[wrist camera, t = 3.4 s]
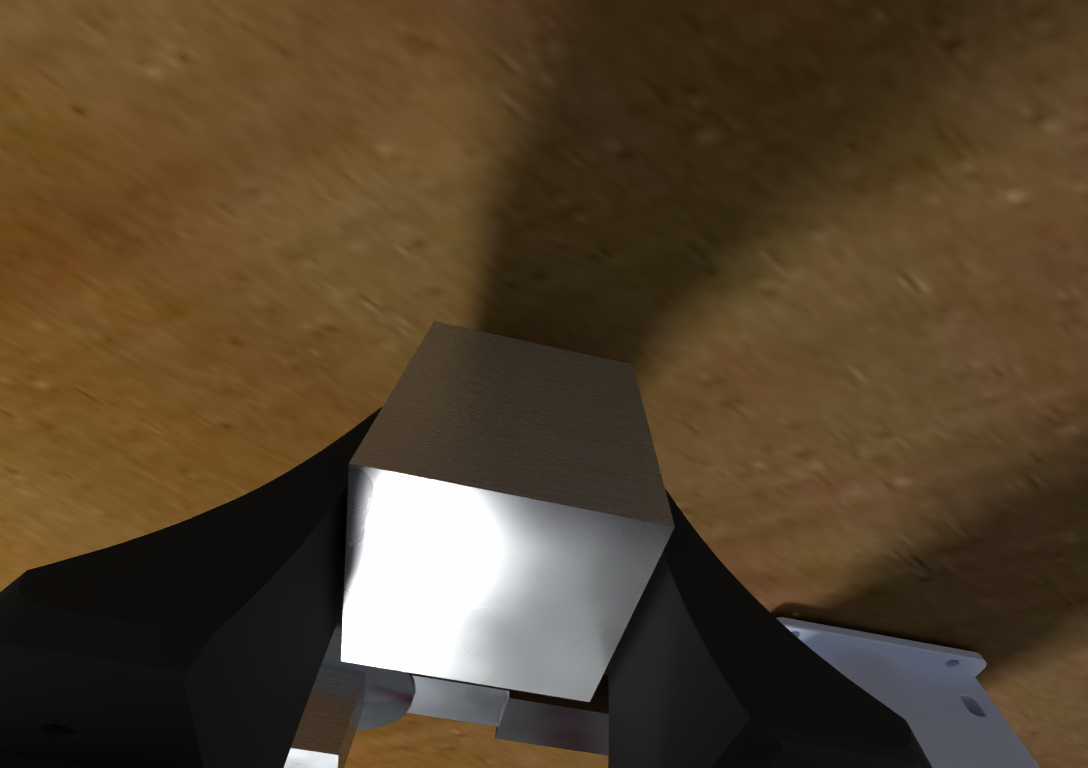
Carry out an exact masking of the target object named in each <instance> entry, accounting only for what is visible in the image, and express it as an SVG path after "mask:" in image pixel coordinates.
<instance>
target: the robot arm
mask: <svg viewBox="0 0 1088 768" xmlns="http://www.w3.org/2000/svg"><path fill="white" fill-rule="evenodd" d="M381 409H382V407H381V408H380V409H378V410H377V411H376V412H374V413H373V414H372V415H370V416H369V417H368V418H366V419H365V420H364V421H362V422H361V423H360V424H358V425H357V426H356V427H354V428H353V429H352V430H350V431H349V432H348V433H346V434H345V435H343V436H342V437H341V438H339V439H338V440H336V441H335V442H333V443H332V444H330V445H329V446H328V447H326V448H325V449H323V450H322V451H320V452H319V453H317V454H316V455H314V456H313V457H311V458H309V459H308V460H306V461H305V462H303V463H301V464H300V465H298V466H296V467H295V468H293V469H292V470H290V471H288V472H287V473H285V474H283V475H281V476H280V477H278V478H276V479H274V480H273V481H271V482H269V483H267V484H265V485H263V486H262V487H260V488H258V489H256V490H254V491H252V492H250V493H248V494H246V495H244V496H241V497H239V498H237V499H235V500H233V501H230V502H228V503H226V504H223V505H221V506H219V507H216V508H214V509H212V510H209V511H207V512H205V513H202V514H200V515H198V516H195V517H193V518H191V519H188V520H186V521H183V522H180V523H178V524H175V525H172V526H170V527H167V528H164V529H162V530H159V531H156V532H153V533H150V534H147V535H144V536H142V537H139V538H136V539H133V540H130V541H127V542H124V543H121V544H117V545H114V546H111V547H108V548H105V549H101V550H98V551H94V552H91V553H87V554H84V555H80V556H77V557H73V558H70V559H66V560H63V561H59V562H56V563H52V564H49V565H45V566H41V567H38V568H34V569H30V570H27V571H26V572H25V573H23V574H22V575H21V576H20V577H18V578H17V579H16V580H15V581H14V582H12V583H11V584H10V585H9V586H7V587H6V588H5V589H4V590H3V591H1V592H0V768H284V765H285V763H286V760H287V757H288V754H289V751H290V749H291V746H292V743H293V740H294V737H295V735H296V732H297V729H298V726H299V723H300V721H301V718H302V715H303V712H304V710H305V707H306V704H307V701H308V699H309V696H310V693H311V691H312V688H313V685H314V683H315V680H316V677H317V675H318V672H319V669H320V667H321V664H322V661H323V659H324V656H325V653H326V651H327V648H328V646H329V643H330V640H331V638H332V635H333V633H334V630H335V628H336V625H337V622H338V620H339V617H340V615H341V613H342V611H343V601H344V576H345V551H346V526H347V501H348V476H349V462H350V461H351V459H352V457H353V456H354V454H355V452H356V451H357V449H358V447H359V446H360V444H361V442H362V441H363V439H364V437H365V436H366V434H367V432H368V431H369V429H370V427H371V426H372V424H373V422H374V421H375V419H376V417H377V416H378V414H379V412H380V411H381ZM665 491H666V495H667V499H668V503H669V506H670V510H671V514H672V518H673V522H674V526H675V527H674V529H673V532H672V534H671V536H670V538H669V540H668V542H667V544H666V546H665V548H664V550H663V552H662V554H661V556H660V558H659V560H658V562H657V565H656V567H655V569H654V571H653V573H652V575H651V577H650V579H649V581H648V583H647V585H646V587H645V589H644V591H643V593H642V595H641V597H640V600H639V602H638V604H637V606H636V608H635V610H634V612H633V614H632V616H631V618H630V620H629V622H628V624H627V626H626V628H625V630H624V633H623V635H622V637H621V639H620V641H619V643H618V645H617V647H616V649H615V651H614V653H613V655H612V657H611V659H610V661H609V663H608V685H609V765H608V768H1040V767H1039V766H1038V765H1037V763H1036V762H1035V760H1034V759H1033V758H1032V756H1031V755H1030V753H1029V752H1028V751H1027V749H1026V748H1025V746H1024V745H1023V743H1022V742H1021V741H1020V739H1019V738H1018V736H1017V735H1016V734H1015V732H1014V731H1013V729H1012V728H1011V727H1010V725H1009V724H1008V722H1007V721H1006V720H1005V718H1004V717H1003V715H1002V714H1001V713H1000V711H999V710H998V708H997V707H996V706H995V704H994V703H993V701H992V700H991V699H990V697H989V696H988V694H987V693H986V692H985V690H984V689H983V687H982V686H981V685H980V683H979V682H978V680H977V679H976V678H975V677H976V676H977V675H978V674H979V673H980V672H981V671H982V670H984V669H985V667H986V661H985V660H984V659H983V657H982V656H981V655H980V654H979V653H976V652H972V651H967V650H961V649H955V648H950V647H944V646H939V645H933V644H928V643H922V642H917V641H911V640H906V639H900V638H895V637H889V636H884V635H878V634H873V633H867V632H862V631H856V630H851V629H845V628H839V627H834V626H828V625H823V624H817V623H812V622H806V621H801V620H795V619H790V618H784V617H777V618H775V617H774V616H773V615H772V614H771V613H770V612H769V611H768V610H767V609H766V608H765V607H764V606H763V605H762V604H760V603H759V602H758V601H757V600H756V599H755V598H754V597H753V596H752V595H751V594H750V593H749V592H748V590H747V589H746V588H745V587H744V586H743V585H742V584H741V583H740V582H739V581H738V580H737V579H736V578H735V577H734V576H733V575H732V574H731V573H730V571H729V570H728V569H727V568H726V567H725V566H724V565H723V564H722V562H721V561H720V560H719V559H718V558H717V557H716V555H715V554H714V553H713V552H712V551H711V549H710V548H709V547H708V546H707V544H706V543H705V542H704V541H703V540H702V538H701V537H700V536H699V534H698V533H697V532H696V531H695V529H694V528H693V527H692V525H691V524H690V523H689V521H688V520H687V519H686V517H685V516H684V515H683V513H682V512H681V510H680V509H679V508H678V506H677V505H676V503H675V502H674V501H673V499H672V498H671V496H670V495H669V493H668V492H667V490H666V489H665Z"/></svg>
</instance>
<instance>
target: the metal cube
mask: <svg viewBox="0 0 1088 768" xmlns="http://www.w3.org/2000/svg"><path fill="white" fill-rule="evenodd" d="M674 527H675V526H674V522H673V518H672V514H671V510H670V506H669V503H668V499H667V495H666V491H665V487H664V483H663V479H662V476H661V472H660V468H659V464H658V460H657V456H656V452H655V448H654V445H653V441H652V437H651V433H650V429H649V425H648V421H647V418H646V414H645V410H644V406H643V402H642V398H641V394H640V391H639V387H638V383H637V379H636V375H635V371H634V367H633V365H632V364H628V363H623V362H619V361H614V360H609V359H605V358H600V357H596V356H591V355H587V354H582V353H578V352H573V351H568V350H564V349H559V348H555V347H550V346H546V345H541V344H537V343H532V342H527V341H523V340H518V339H514V338H509V337H505V336H500V335H496V334H491V333H486V332H482V331H477V330H473V329H468V328H464V327H459V326H455V325H450V324H445V323H441V322H436V321H434V322H433V324H432V326H431V327H430V329H429V331H428V332H427V334H426V336H425V337H424V339H423V341H422V342H421V344H420V346H419V347H418V349H417V351H416V352H415V354H414V356H413V357H412V359H411V361H410V362H409V364H408V366H407V367H406V369H405V371H404V372H403V374H402V376H401V377H400V379H399V381H398V382H397V384H396V386H395V387H394V389H393V391H392V392H391V394H390V396H389V397H388V399H387V401H386V402H385V404H384V406H383V407H382V409H381V411H380V412H379V414H378V416H377V417H376V419H375V421H374V422H373V424H372V426H371V427H370V429H369V431H368V432H367V434H366V436H365V437H364V439H363V441H362V442H361V444H360V446H359V447H358V449H357V451H356V452H355V454H354V456H353V457H352V459H351V461H350V462H349V476H348V501H347V526H346V551H345V576H344V601H343V627H342V652H341V661H343V662H349V663H355V664H361V665H367V666H374V667H380V668H386V669H392V670H398V671H404V672H410V673H416V674H422V675H428V676H434V677H440V678H446V679H452V680H458V681H464V682H470V683H476V684H482V685H488V686H494V687H501V688H507V689H513V690H519V691H525V692H531V693H537V694H543V695H549V696H555V697H561V698H567V699H573V700H579V701H585V702H590V700H591V698H592V696H593V694H594V692H595V690H596V688H597V686H598V684H599V682H600V680H601V678H602V676H603V674H604V672H605V670H606V668H607V665H608V663H609V661H610V659H611V657H612V655H613V653H614V651H615V649H616V647H617V645H618V643H619V641H620V639H621V637H622V635H623V633H624V630H625V628H626V626H627V624H628V622H629V620H630V618H631V616H632V614H633V612H634V610H635V608H636V606H637V604H638V602H639V600H640V597H641V595H642V593H643V591H644V589H645V587H646V585H647V583H648V581H649V579H650V577H651V575H652V573H653V571H654V569H655V567H656V565H657V562H658V560H659V558H660V556H661V554H662V552H663V550H664V548H665V546H666V544H667V542H668V540H669V538H670V536H671V534H672V532H673V529H674Z"/></svg>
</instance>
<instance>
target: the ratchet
mask: <svg viewBox="0 0 1088 768" xmlns="http://www.w3.org/2000/svg"><path fill="white" fill-rule="evenodd" d="M342 627H343V611H342V613H341V615H340V617H339V620H338V622H337V625H336V628H335V630H334V633H333V635H332V638H331V640H330V643H329V646H328V648H327V651H326V653H325V656H324V659H323V661H322V664H321V667H320V669H319V672H318V675H317V677H316V680H315V683H314V685H313V688H312V691H311V693H310V696H309V699H308V701H307V704H306V707H305V710H304V712H303V715H302V718H301V721H300V723H299V726H298V729H297V732H296V735H295V737H294V740H293V743H292V746H291V749H290V751H289V754H288V757H287V760H286V763H285V765H284V768H344V766H345V763H346V760H347V757H348V754H349V751H350V748H351V745H352V742H353V739H354V736H355V733H356V730H366V729H373V728H378V727H382V726H385V725H388V724H390V723H393V722H395V721H396V720H398V719H400V718H401V717H402V716H403V715H404V714H405V713H406V712H407V713H413V714H420V715H426V716H433V717H439V718H446V719H452V720H458V721H465V722H471V723H478V724H484V725H491V726H496V735H495V738H497V739H504V740H510V741H517V742H523V743H530V744H536V745H543V746H549V747H556V748H562V749H569V750H575V751H582V752H589V753H595V754H602V755H608V756H609V685H608V677H603V676H602V678H601V680H600V682H599V684H598V686H597V688H596V690H595V692H594V694H593V696H592V698H591V700H590V702H585V701H579V700H573V699H567V698H561V697H555V696H549V695H543V694H537V693H531V692H525V691H519V690H513V689H507V688H501V687H494V686H488V685H482V684H476V683H470V682H464V681H458V680H452V679H446V678H440V677H434V676H428V675H422V674H416V673H410V672H404V671H398V670H392V669H386V668H380V667H374V666H367V665H361V664H355V663H349V662H343V661H341V652H342Z"/></svg>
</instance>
